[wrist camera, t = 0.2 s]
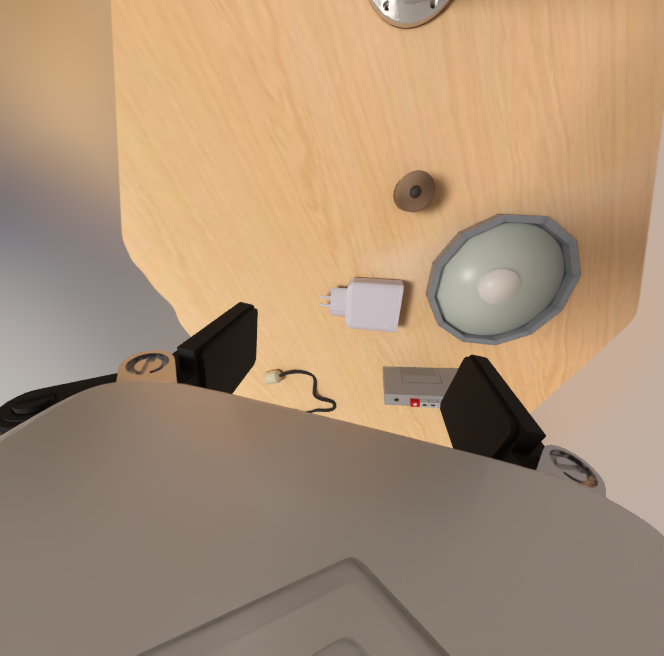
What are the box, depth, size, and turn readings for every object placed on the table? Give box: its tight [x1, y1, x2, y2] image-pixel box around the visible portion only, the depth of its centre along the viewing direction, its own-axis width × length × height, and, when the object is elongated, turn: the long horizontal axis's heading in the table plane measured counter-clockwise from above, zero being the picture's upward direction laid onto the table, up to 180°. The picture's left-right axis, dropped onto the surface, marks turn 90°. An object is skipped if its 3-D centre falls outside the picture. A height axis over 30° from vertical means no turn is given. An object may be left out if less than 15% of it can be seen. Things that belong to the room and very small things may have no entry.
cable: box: [264, 370, 336, 413], centre depth 60 cm, size 16×16×4 cm
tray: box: [426, 214, 581, 345], centre depth 42 cm, size 22×22×2 cm
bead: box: [393, 170, 435, 212], centre depth 36 cm, size 5×5×6 cm
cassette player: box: [383, 367, 458, 408], centre depth 49 cm, size 16×3×10 cm, turn 94°
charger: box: [320, 277, 404, 332], centre depth 46 cm, size 5×9×15 cm
